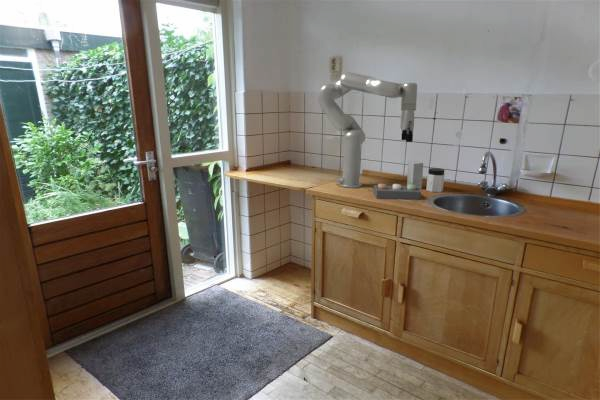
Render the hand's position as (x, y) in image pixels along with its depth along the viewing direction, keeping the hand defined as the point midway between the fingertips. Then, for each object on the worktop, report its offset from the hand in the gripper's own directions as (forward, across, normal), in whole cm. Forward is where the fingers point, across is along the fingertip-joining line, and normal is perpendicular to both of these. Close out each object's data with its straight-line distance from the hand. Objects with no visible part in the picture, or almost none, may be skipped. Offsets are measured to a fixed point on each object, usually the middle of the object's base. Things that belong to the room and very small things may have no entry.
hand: (406, 140), depth 207 cm
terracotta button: (+25, +10, -14) cm, 30 cm away
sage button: (+25, +11, +1) cm, 27 cm away
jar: (+28, -4, +18) cm, 34 cm away
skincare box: (+28, -10, +8) cm, 31 cm away
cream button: (+25, +10, -7) cm, 28 cm away
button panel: (+28, +10, -7) cm, 30 cm away
